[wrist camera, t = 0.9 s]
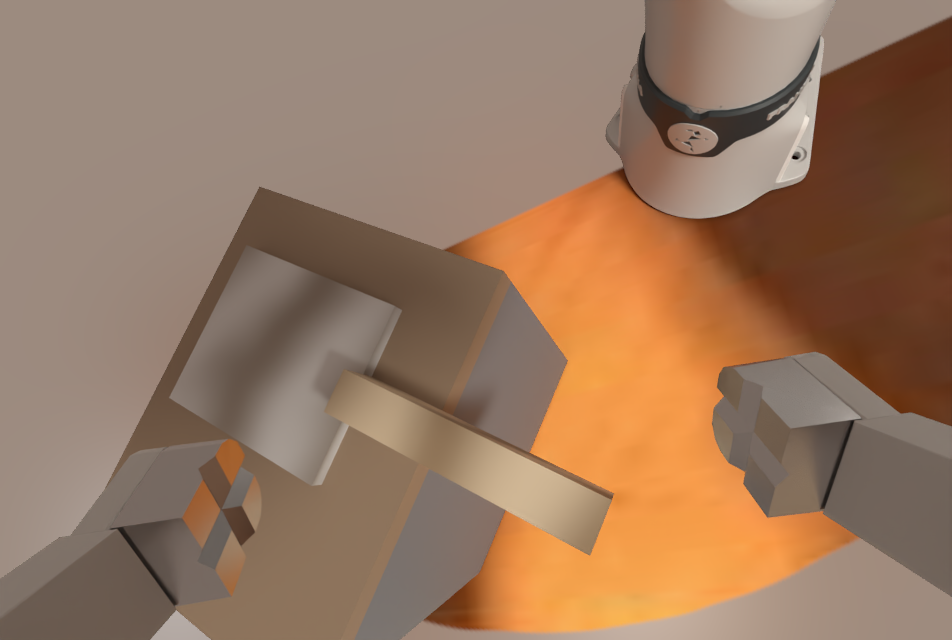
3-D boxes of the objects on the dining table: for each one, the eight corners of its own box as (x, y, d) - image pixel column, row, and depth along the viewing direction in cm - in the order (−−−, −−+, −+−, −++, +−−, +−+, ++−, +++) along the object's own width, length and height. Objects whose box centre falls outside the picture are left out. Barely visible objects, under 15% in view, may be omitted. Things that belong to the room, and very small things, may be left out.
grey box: (428, 305, 53) (259, 186, 29) (567, 360, 47) (503, 271, 23) (343, 490, 51) (83, 531, 26) (479, 572, 45) (305, 719, 21)
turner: (646, 410, 20) (648, 406, 17) (559, 630, 19) (550, 656, 16) (256, 250, 28) (222, 232, 25) (181, 399, 27) (139, 394, 24)
